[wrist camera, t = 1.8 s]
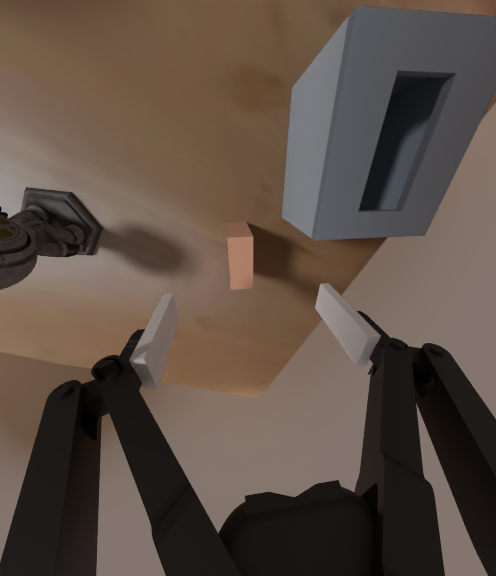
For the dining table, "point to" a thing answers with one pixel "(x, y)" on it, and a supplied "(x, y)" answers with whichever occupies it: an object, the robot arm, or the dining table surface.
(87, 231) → the figurine
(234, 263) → the peach rectangular block
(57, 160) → the dining table surface
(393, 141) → the coin box
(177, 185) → the dining table surface
